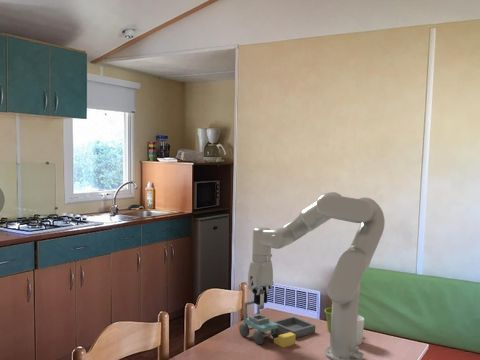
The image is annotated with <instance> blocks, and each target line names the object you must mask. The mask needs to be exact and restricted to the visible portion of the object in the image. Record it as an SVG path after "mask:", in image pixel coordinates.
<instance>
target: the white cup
mask: <svg viewBox="0 0 480 360" xmlns="http://www.w3.org/2000/svg"><path fill="white" fill-rule="evenodd" d="M364 327H365V317H363V316H362V315H359V314H358V319H357V339H356V346H359V345H361V344H362V342H363V335H364Z"/></svg>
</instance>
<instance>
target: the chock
mask: <svg viewBox="0 0 480 360" xmlns="http://www.w3.org/2000/svg"><path fill="white" fill-rule="evenodd" d="M296 339H297V338H296V334H293V333H291V332H289V333H285V334H282V333H281V335H278V337H277V338H273V343H274V344H276V346H277V345H278V346H279V347H281V348H286V347H290V346H293V345H295V344H296Z"/></svg>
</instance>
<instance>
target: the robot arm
mask: <svg viewBox="0 0 480 360" xmlns="http://www.w3.org/2000/svg"><path fill="white" fill-rule="evenodd" d="M331 219H334V220H339V221H344V222H348V223H355V224H359V227H358V229H357V231H356V233H355V235H354V238H353V240H352V241H351V242H352V243H351V244H350V246H349V248H347V250H345V251H344V252H343V253H341V255H340V257H339V258H338V261H337V263H336V265H335V267H334V269H333V271H332V273H331V276H330V278H329V280H328V282H327V284H326V285H327V286H326V293H327V295H328V297H329V299H330V300H331V302H332V304H331V308H332V313H331V332H330V333H329V335H330V338H329V346H328V347H326V349H325V352H324V353H325V356H326V357H328V358H329V359H331V360H363V359H364V355H365V354H364V352H361V351H360V350H359V348H360V347H359V345H356V339H357V319H358V315H359V303H360V294H361V280H362V278H363V275H364V274H365V272H366V271H367V270H368V269H369V266H370V264H371V262H372V259H373V256H374V254H375V252H376V250H377V248H378V245H379V243H380V240H381V237H382V236H383V234H384V233H383V232H384V229H385V223H386V220H385V215H384V212H383V210H382V208H381V206H380V205H379V204H378V202H377V201H375V200H374V199H372V198H370V197H360V198H355V197H349V196H348V197H347V196H342V195H341V194H340V193H338V192H335V191H330V192H327V193H324V194H321V195H320V196H319V197H318V199H317V200H316V201H314V202H313V203H311V204H310V205H308V206H307V207H305V208H303V209H302V210H301V211H300V213H299V215H298V216H297V217H296V218H294V219H293V220H292V221H290V222H288V223H287V224H285V225H284V226H282V227H279V228H276V229H270V228H269V227H264V226H262V227H261V226H260V227H259V226H258V227H255V228H253V229H252V253H251V254H252V256H251V257H252V259H251V261H250V263H249V267H248V274H247V290H249V291H251V292H252V294H253V300H254V304H255V305H256V306H257V305H260V295H259V291H260V289H265V293H264V304H267V303H268V294H269V292H270V290H271V288H272V287H273V286H274V284H275V283H274V270H273V269H274V268H273V262H272V260H271V259H272V257H273V254H272V249H275V250H279V249H282V248H283V249H284V248H285V247H286V246H289V245H291V244H292V243H294V242H296V241H297V240H299V239H300V238H302V237H303V236H306V234H307V235H308V233H309V232H312V231H314V230H315V229H317V228H318V227H320V226H321V225H323V224H325V223H326V222H327V221H330V220H331ZM256 289H257V290H256Z"/></svg>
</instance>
